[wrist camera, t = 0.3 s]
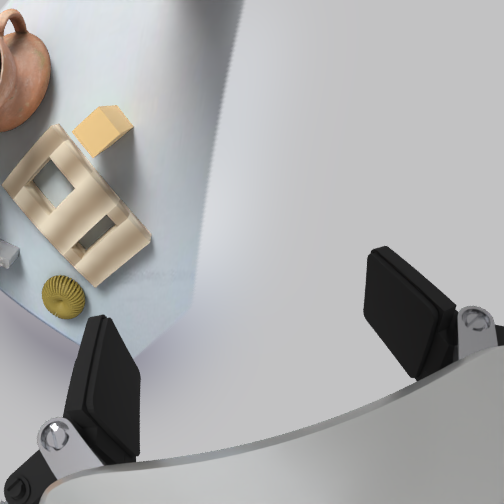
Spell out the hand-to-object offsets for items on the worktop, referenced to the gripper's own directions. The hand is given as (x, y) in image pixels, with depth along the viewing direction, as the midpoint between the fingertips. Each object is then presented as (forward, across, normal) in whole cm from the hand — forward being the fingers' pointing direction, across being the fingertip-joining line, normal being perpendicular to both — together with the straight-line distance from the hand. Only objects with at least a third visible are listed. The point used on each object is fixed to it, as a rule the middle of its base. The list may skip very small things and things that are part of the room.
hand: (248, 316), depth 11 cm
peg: (+35, +10, -7) cm, 37 cm away
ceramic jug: (+35, +24, -19) cm, 47 cm away
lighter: (+36, +36, +5) cm, 51 cm away
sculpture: (+36, +27, +16) cm, 48 cm away
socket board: (+35, +19, +3) cm, 40 cm away
